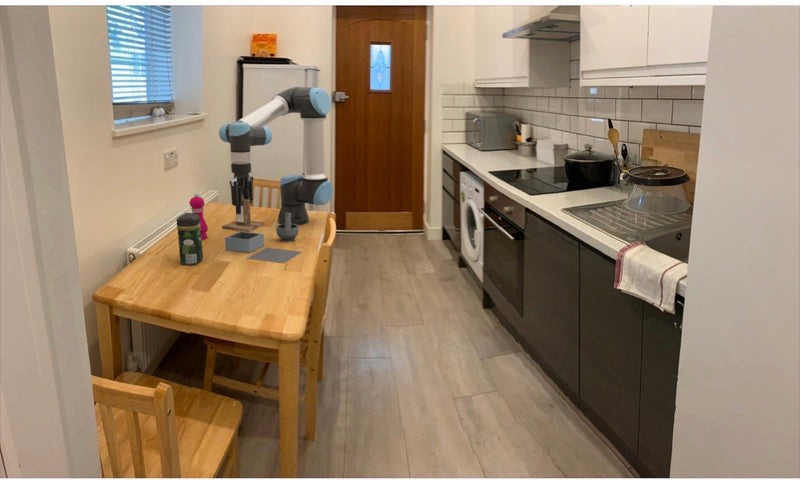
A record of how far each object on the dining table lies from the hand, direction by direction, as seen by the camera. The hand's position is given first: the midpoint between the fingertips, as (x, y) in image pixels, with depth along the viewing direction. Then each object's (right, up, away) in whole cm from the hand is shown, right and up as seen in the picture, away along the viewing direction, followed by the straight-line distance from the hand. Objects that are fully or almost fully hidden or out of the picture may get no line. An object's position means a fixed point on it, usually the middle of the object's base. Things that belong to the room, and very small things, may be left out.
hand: (243, 220), depth 220 cm
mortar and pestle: (+14, -9, +18) cm, 24 cm away
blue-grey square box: (0, -12, +4) cm, 12 cm away
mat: (+14, -15, -4) cm, 21 cm away
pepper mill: (-24, -7, +17) cm, 31 cm away
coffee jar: (-16, -16, -13) cm, 26 cm away
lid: (0, -3, +1) cm, 3 cm away
